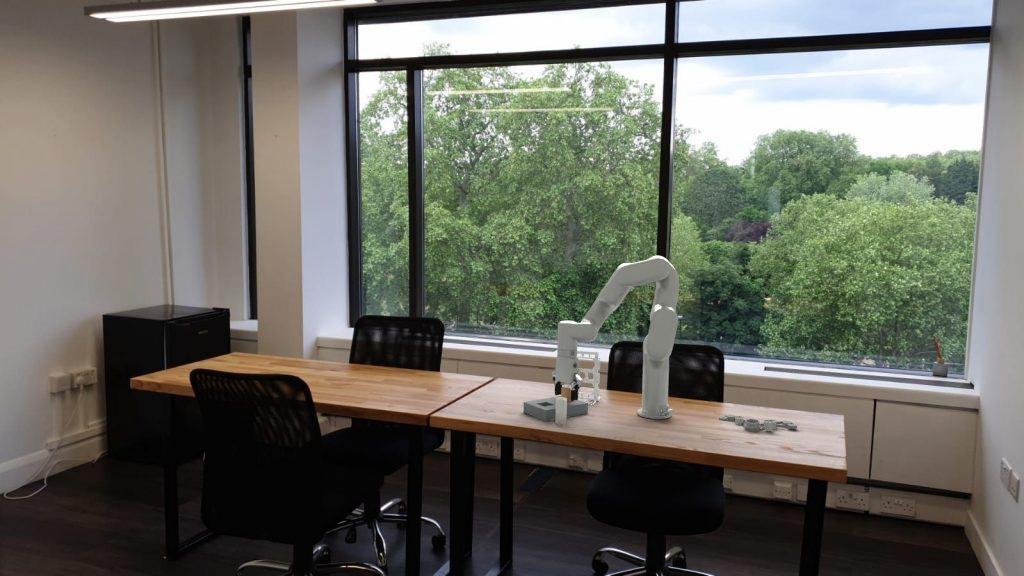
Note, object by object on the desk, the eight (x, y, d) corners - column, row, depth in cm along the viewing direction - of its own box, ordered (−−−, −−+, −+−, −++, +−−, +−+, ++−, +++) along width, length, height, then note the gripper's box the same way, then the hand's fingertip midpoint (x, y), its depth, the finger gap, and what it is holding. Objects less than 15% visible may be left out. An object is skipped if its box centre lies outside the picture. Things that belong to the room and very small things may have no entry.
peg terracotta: (565, 413, 270) (565, 389, 269) (558, 410, 274) (559, 387, 273) (573, 411, 273) (574, 388, 272) (566, 409, 276) (567, 386, 275)
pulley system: (792, 440, 243) (799, 427, 256) (792, 427, 242) (799, 414, 255) (711, 431, 256) (721, 418, 269) (711, 418, 256) (721, 406, 269)
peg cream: (568, 423, 256) (569, 399, 255) (559, 425, 254) (560, 400, 253) (561, 421, 259) (562, 396, 258) (553, 422, 257) (553, 398, 256)
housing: (587, 413, 270) (588, 402, 270) (545, 421, 259) (545, 410, 259) (564, 405, 282) (564, 395, 281) (523, 412, 270) (523, 401, 270)
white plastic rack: (559, 402, 286) (560, 353, 284) (568, 394, 299) (569, 347, 297) (595, 406, 282) (596, 356, 280) (602, 398, 295) (603, 350, 293)
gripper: (589, 356, 266) (588, 401, 268) (560, 348, 280) (559, 391, 282) (574, 357, 262) (573, 403, 263) (545, 350, 276) (544, 394, 278)
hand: (566, 397), depth 273 cm, fingers open, 9 cm apart
